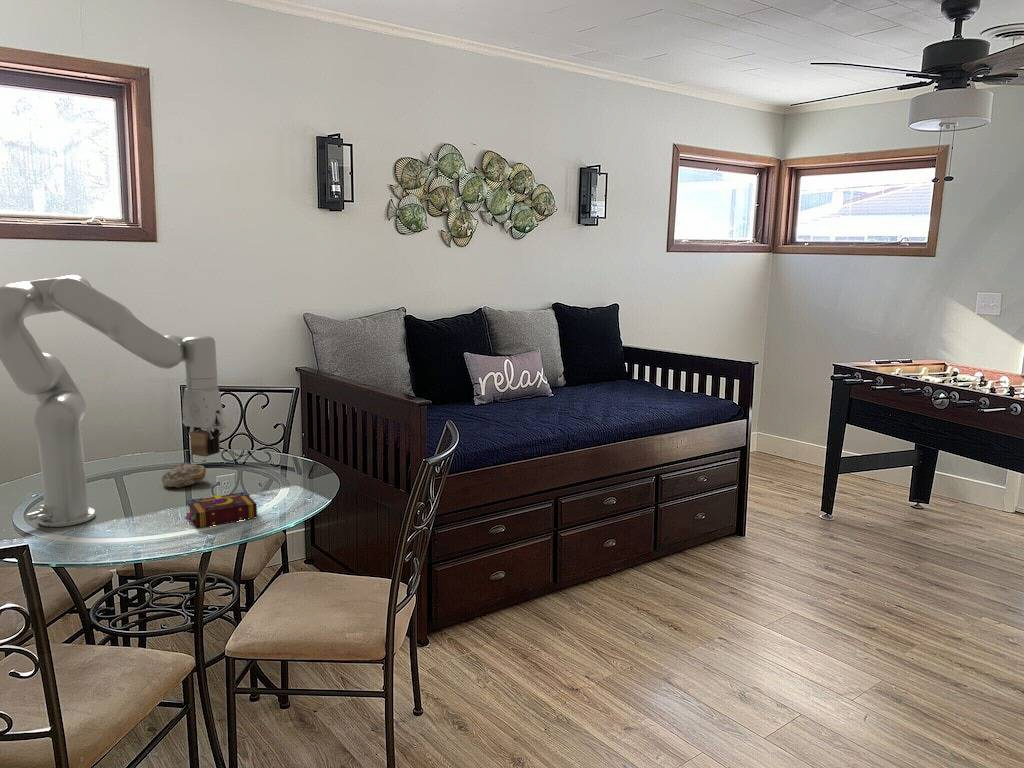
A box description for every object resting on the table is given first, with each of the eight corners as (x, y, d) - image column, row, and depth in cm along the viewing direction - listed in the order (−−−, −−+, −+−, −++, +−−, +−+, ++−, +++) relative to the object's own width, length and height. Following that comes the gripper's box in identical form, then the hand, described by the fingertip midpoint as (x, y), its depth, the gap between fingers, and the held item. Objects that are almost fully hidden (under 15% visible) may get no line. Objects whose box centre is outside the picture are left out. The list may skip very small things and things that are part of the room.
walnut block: (205, 456, 204) (204, 434, 203) (191, 454, 206) (190, 432, 205) (220, 452, 209) (218, 430, 208) (206, 450, 211) (205, 428, 210)
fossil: (167, 491, 222) (153, 462, 225) (171, 503, 228) (157, 475, 232) (209, 473, 227) (195, 446, 231) (211, 486, 234) (198, 459, 237)
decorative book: (258, 519, 202) (257, 501, 201) (191, 531, 193) (190, 511, 192) (246, 507, 211) (245, 489, 210) (182, 517, 202) (181, 498, 201)
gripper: (166, 382, 205) (170, 450, 208) (215, 388, 197) (218, 459, 200) (189, 378, 211) (193, 444, 214) (237, 384, 204) (240, 452, 207)
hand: (205, 450), depth 207 cm, fingers closed on walnut block, 5 cm apart
